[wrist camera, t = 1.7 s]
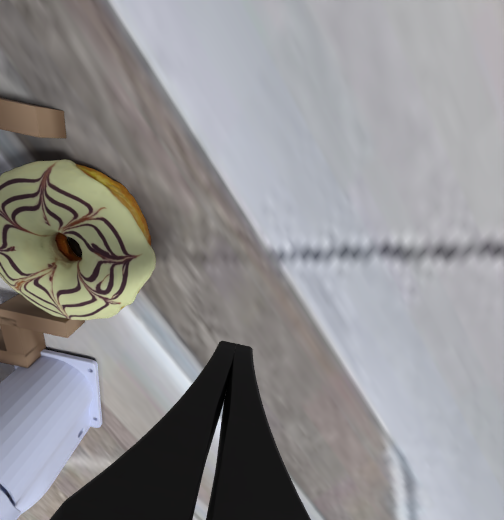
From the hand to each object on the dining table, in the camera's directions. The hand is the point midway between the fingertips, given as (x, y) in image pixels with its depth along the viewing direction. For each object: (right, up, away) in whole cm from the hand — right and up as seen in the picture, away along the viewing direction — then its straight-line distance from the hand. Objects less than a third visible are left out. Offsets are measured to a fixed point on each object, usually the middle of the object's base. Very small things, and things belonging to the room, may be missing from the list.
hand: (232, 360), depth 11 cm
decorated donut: (-11, +6, +8) cm, 15 cm away
